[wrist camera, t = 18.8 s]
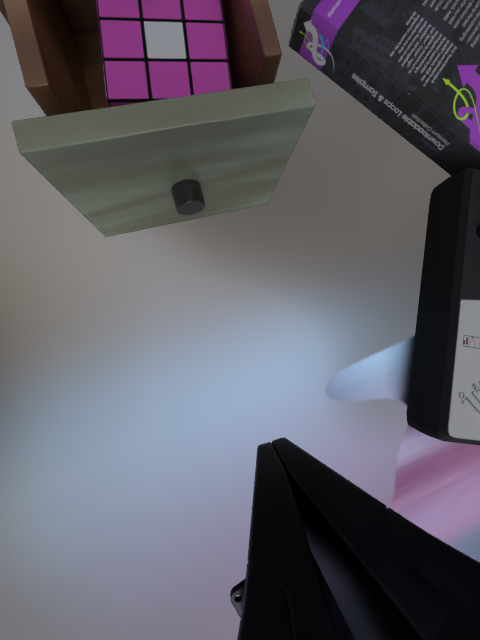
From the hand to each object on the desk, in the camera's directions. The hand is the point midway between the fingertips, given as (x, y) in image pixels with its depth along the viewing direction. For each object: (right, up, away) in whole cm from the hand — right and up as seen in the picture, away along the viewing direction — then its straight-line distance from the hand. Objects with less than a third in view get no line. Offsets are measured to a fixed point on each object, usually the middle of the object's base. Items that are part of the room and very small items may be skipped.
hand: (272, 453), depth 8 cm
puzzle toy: (-5, +17, +10) cm, 20 cm away
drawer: (-6, +17, +11) cm, 21 cm away
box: (+14, +25, +15) cm, 33 cm away
